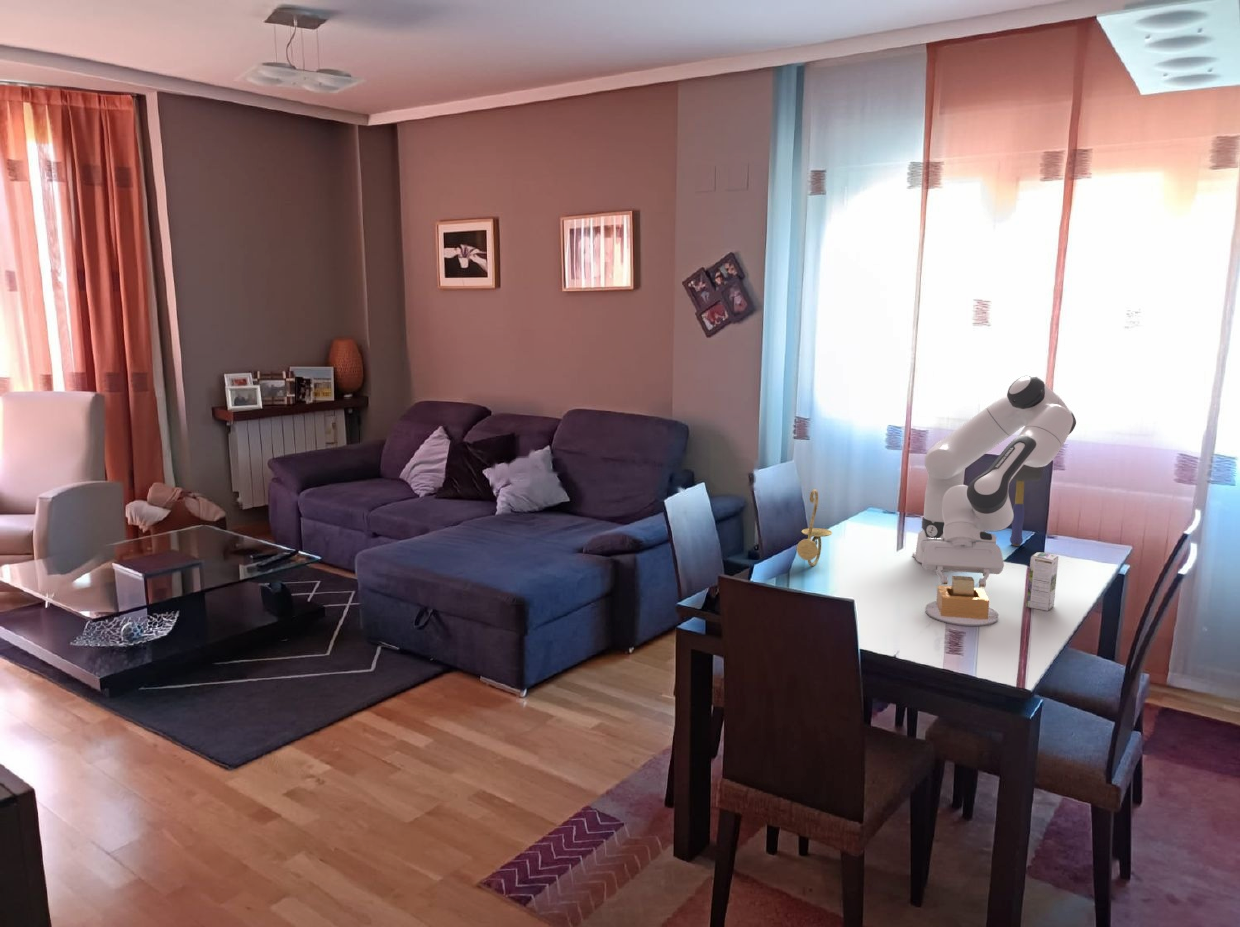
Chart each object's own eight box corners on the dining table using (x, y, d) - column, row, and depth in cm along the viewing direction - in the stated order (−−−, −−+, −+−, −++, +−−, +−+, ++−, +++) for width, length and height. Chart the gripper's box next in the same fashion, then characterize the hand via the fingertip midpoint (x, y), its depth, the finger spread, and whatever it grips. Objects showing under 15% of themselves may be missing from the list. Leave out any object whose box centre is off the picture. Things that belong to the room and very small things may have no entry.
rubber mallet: (1033, 543, 304) (1040, 458, 299) (1037, 549, 297) (1044, 461, 292) (995, 541, 308) (1000, 456, 303) (997, 546, 301) (1004, 460, 296)
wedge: (950, 608, 236) (952, 575, 234) (969, 609, 235) (972, 576, 233) (952, 612, 232) (954, 579, 231) (972, 613, 231) (974, 580, 230)
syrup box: (1031, 601, 244) (1035, 551, 241) (1054, 606, 240) (1058, 554, 238) (1025, 607, 239) (1029, 555, 237) (1049, 611, 236) (1053, 559, 233)
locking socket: (922, 601, 245) (923, 580, 243) (991, 606, 240) (993, 585, 239) (929, 623, 227) (930, 601, 226) (1003, 629, 223) (1005, 606, 222)
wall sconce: (821, 573, 271) (824, 494, 267) (791, 569, 276) (793, 491, 271) (834, 562, 283) (837, 486, 278) (806, 558, 288) (808, 483, 283)
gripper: (921, 531, 239) (923, 576, 232) (1002, 535, 235) (1006, 581, 227) (919, 543, 244) (920, 587, 237) (998, 547, 240) (1002, 593, 232)
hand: (963, 584), depth 232 cm, fingers open, 8 cm apart
